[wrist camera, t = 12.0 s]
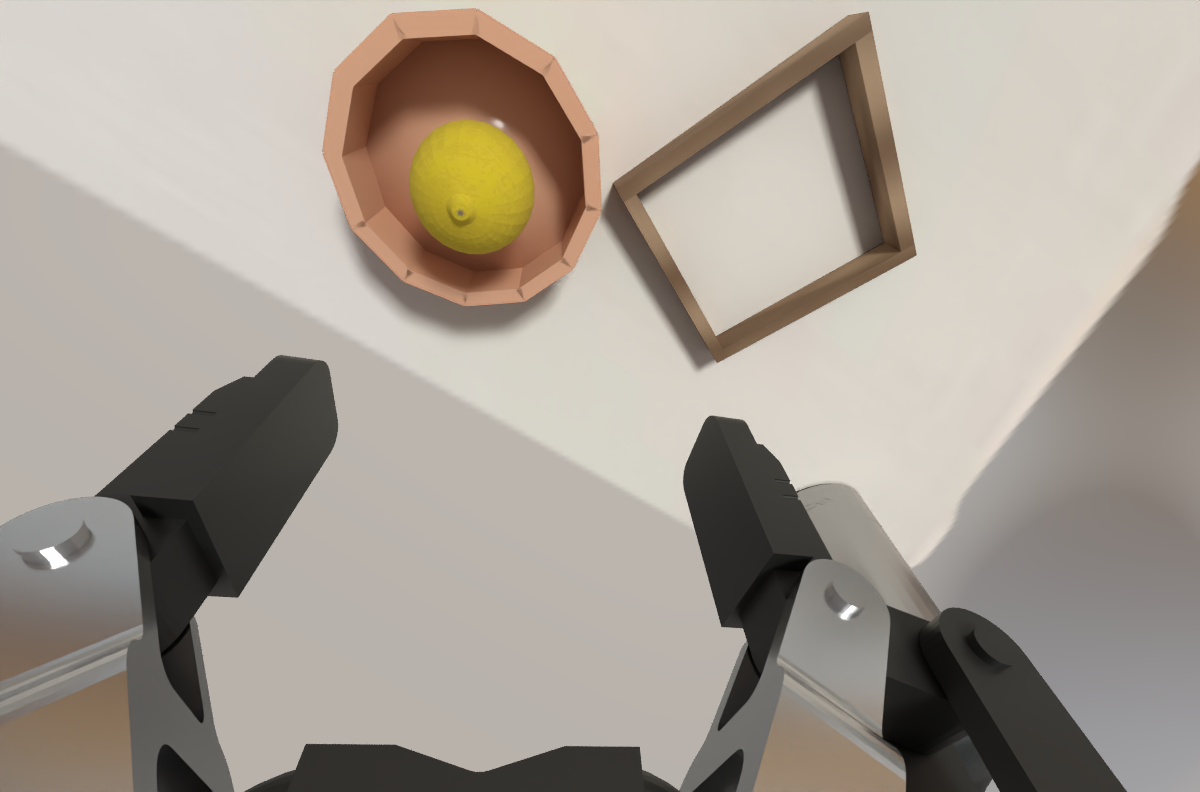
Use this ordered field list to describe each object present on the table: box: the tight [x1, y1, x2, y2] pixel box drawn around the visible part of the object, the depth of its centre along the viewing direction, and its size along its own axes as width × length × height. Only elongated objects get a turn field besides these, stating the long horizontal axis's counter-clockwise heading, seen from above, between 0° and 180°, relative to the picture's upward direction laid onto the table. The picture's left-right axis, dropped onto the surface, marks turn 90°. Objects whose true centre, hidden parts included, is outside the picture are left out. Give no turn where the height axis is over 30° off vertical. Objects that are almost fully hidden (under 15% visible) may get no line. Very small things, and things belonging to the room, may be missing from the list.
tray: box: [614, 12, 917, 363], centre depth 27 cm, size 14×14×2 cm
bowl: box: [322, 8, 602, 306], centre depth 23 cm, size 13×13×4 cm
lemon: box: [409, 119, 534, 254], centre depth 21 cm, size 6×6×8 cm
